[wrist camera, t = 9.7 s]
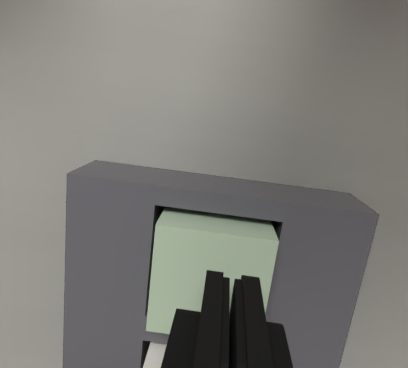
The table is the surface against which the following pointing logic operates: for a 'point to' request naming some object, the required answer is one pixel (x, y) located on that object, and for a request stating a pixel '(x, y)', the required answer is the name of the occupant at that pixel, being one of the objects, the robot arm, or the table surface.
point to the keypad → (215, 203)
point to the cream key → (155, 355)
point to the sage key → (204, 259)
